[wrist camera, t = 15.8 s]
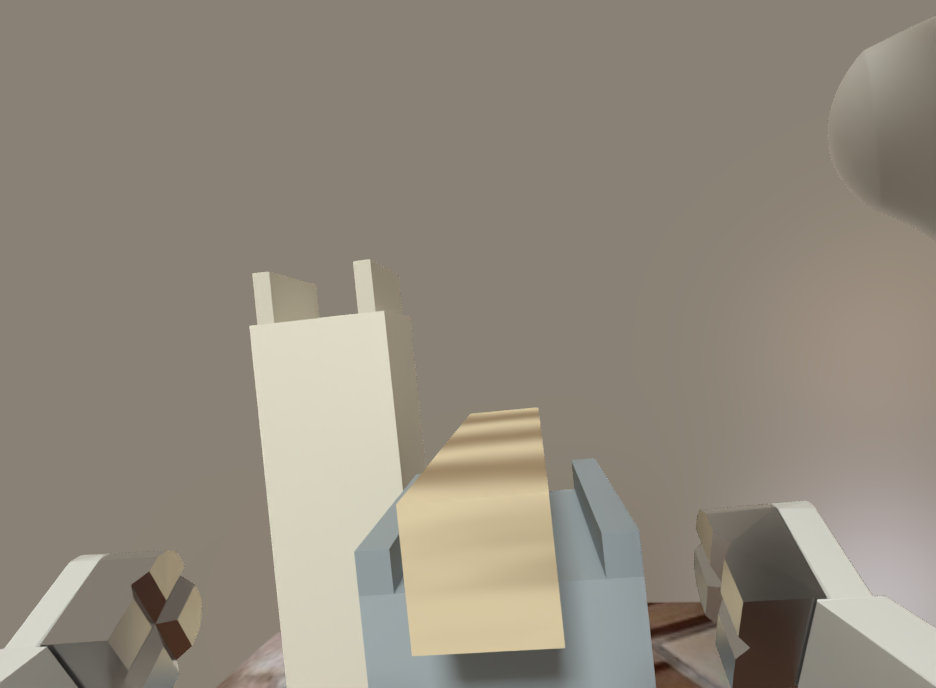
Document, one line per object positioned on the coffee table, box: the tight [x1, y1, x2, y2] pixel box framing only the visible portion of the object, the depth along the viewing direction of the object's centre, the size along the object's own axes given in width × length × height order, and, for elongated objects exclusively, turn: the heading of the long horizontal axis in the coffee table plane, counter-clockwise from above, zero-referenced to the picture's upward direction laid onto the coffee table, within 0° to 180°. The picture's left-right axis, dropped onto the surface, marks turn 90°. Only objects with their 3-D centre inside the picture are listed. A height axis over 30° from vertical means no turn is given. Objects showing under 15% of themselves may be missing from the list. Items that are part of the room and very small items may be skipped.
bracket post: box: [250, 260, 426, 688], centre depth 39 cm, size 8×8×29 cm
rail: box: [396, 408, 565, 656], centre depth 26 cm, size 20×4×4 cm, turn 174°
